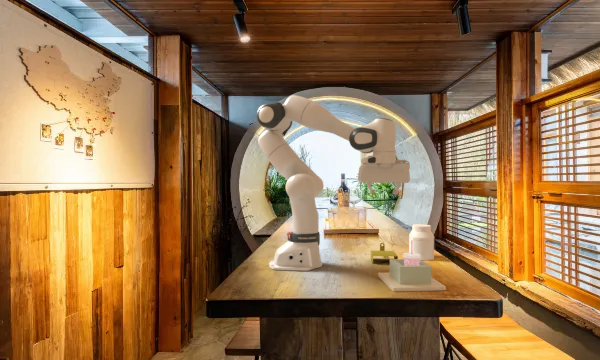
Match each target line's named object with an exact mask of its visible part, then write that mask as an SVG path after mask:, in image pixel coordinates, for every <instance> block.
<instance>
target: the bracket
mask: <svg viewBox="0 0 600 360" xmlns="http://www.w3.org/2000/svg"><path fill="white" fill-rule="evenodd" d="M385 245H386V244H385V243H384V242H381V243H379V250H370V259H371V263H372V262H373V263H374V257H382V258H384V259H390V257H393V259H399V256H398V254H397V253H396V252H395V250H385V249H386V248H385Z"/></svg>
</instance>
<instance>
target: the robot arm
mask: <svg viewBox="0 0 600 360" xmlns="http://www.w3.org/2000/svg"><path fill="white" fill-rule="evenodd" d="M256 119H257V122H258V123H259V125H261V127H262V128H264V130H263V132H262V133H260V135H259V137H258V139H257V141H258V145H259V147H260V149H261V151H262V153H263V154H264V156H265V158H266V159H267V160H268V161H269V162H270V164H271V166H273V168H274V169H275V170H276V171H277V173H278V174H279V175H281V176H282V177H283V178H284V179H285V180H287V181H286V183H285V191H286V194H287V196H288V197H289V203H290V207H291V212H292V214H291V215H292V231H287V232H286V236H287V241H286V242H285V243H283V244H282V245H280V246H279V247H278V248H277V249H276V250H275V252H274V259H272V260H270V261H269V263H268V266H269V268H270V269H272V270H273V271H274V270H276V271H277V270H278V271H300V272H301V271H304V272H305V271H307V272H309V271H311V270H314V269H317V268H321V267H322V266H323V263H322V258H321V254H320V243H321V234H320V231H319V229H320V227H319V226H320V225H319V216H320V215H319V212H318V209H317V204H316V200H315V198H317V197H319V195H320V194H321V193H322V192H323V189H324V185H325V184H324V180H323V179H322V178H321V177H320V176H319V175H318V174H317V173H315V171H314V170H313V169H312V168H311V167H309V165H308V164H306V162H304V160H302V159H301V158H300V156H299V155H298V154H297V153H296V152H295V151H294V149H293V148H292V147H291V146H290V145H289V144H288V142H287V140H286V139H285V138H284V137H285V136H286V134H287V133H288V131H290V129H291V128H292V125H293V122H295V123H297V124H299V125H302V126H304V127H306V128H309V129H312V130H315V131H320V132H324V133H330V134H333V135H335V136H337V137H340V138H342V139H343V140H346V141H348V142H349V144H350V146H351V148H353V149H354V150H356V151H358V152H360V153H362V154H371V153H372V155H369V156H366V157H364V158H361V159H360V162H361V165H360V166H359V168H358V174H357V180H358V182H359V183H366V186H367V187H368V189H369V195H375V189H373V187H372V186H373V184H376V183H380V184H385V183H387V184H389V183H391V184H395V186H396V187H395V188H394V189H393V190H392V194H393V195H398V194H399V189H400V187H401V186H402V184H404V183H405V184H408V183H409V182H410V181H411V175H410V168H411V167H410V166H411V165H410V162H409V161H408V160H407V159H397V158H396V157H397V151H396V143H397V128H396V123H395V122H394V121H393V120H391V119H389V118H385V117H384V118H383V117H378V118H377V117H376V118H375V119H374V120H372V121H371V122H369V123H367V124H365V125H362V126H359V127H354V126H352V125H350V124H348V123H346V122H344V121H341V120H340V119H339V118H337V117H336V116H335V115H334V114H333V113H331V112H330V111H329V109H327V108H325V106H323V105H321V104H320V103H318V102H316V101H314V100H312V99H309V98H306V97H304V96H300V95H297V94H292V95H289V97H287V98H286V100H285V101H284V103H281V102H268V103H264V104H261V106H260V107H258V109H257V111H256Z"/></svg>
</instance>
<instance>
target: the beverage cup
mask: <svg viewBox="0 0 600 360" xmlns="http://www.w3.org/2000/svg"><path fill="white" fill-rule="evenodd" d="M412 252H413V240H411V253H409V252H403V253H402V256H403V259H404V266H417V265H419V263H420V258H421V257H420V256H421V255H420V254H418V253H412Z"/></svg>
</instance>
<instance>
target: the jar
mask: <svg viewBox="0 0 600 360" xmlns="http://www.w3.org/2000/svg"><path fill="white" fill-rule="evenodd" d="M411 228H412V230H411V231H410V232H409V235H408V237H409V238H408V239H409V240H408V250H409V251H408V253H411V240H413V252H412V253H418V254H420V255H421V256H420V257H421V258H420V260H421V261H433V260H434V259H435V235H434V233H433V232H432V225H431V224H423V223H416V224H415V223H413V224H412V227H411Z"/></svg>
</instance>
